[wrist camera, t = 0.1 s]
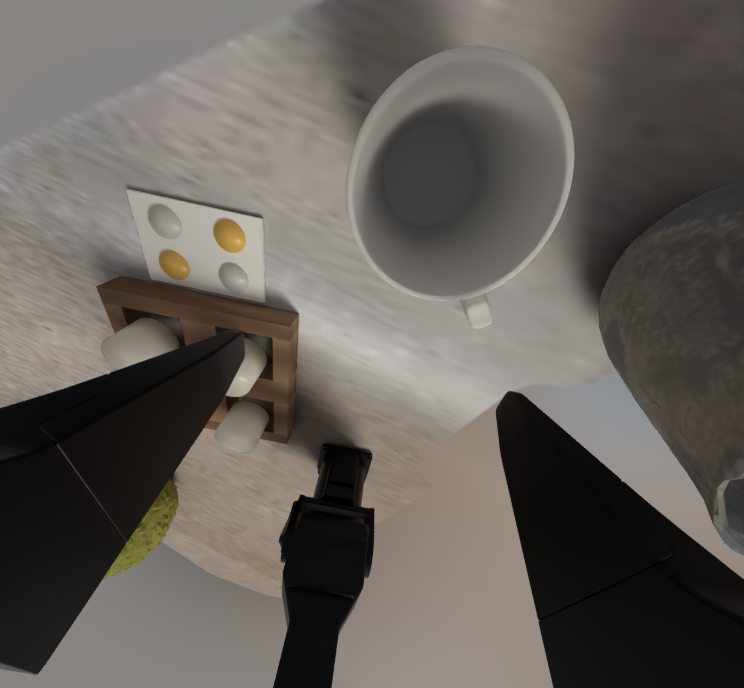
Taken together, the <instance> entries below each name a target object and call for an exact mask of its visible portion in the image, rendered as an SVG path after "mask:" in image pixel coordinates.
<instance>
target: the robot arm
mask: <svg viewBox="0 0 744 688" xmlns="http://www.w3.org/2000/svg"><path fill="white" fill-rule="evenodd" d="M244 358H245V341H244V335H243V333H241V332H237V331H233V330H229V331H226V332H223V333H220V334H217V335H215V336H212V337H209V338H206V339H203V340H201V341H198V342H195V343H192V344H189V345H187V346H184V347H181V348H178V349H175V350H172V351H170V352H167V353H164V354H161V355H158V356H156V357H153V358H150V359H147V360H144V361H142V362H139V363H136V364H133V365H130V366H127V367H125V368H122V369H119V370H116V371H113V372H111V373H109V375H108V374H105V375H102V376H99V377H97V378H94V379H91V380H88V381H85V382H82V383H79V384H76V385H73V386H70V387H67V388H65V389H61V390H58V391H55V392H52V393H49V394H45V395H42V396H39V397H36V398H32V399H29V400H26V401H22V402H19V403H16V404H12V405H9V406H6V407H2V408H0V669H4V670H10V671H16V672H22V673H28V674H34V675H37V674H38V673H39V672H40V671H41V669H42V668H43V666H44V665H45V664H46V663H47V661H48V660H49V658H50V657H51V655H52V654H53V652H54V651H55V649H56V648H57V646H58V645H59V643H60V642H61V640H62V639H63V637H64V636H65V634H66V633H67V631H68V630H69V629H70V627H71V626H72V624H73V622H74V621H75V620H76V618H77V616H78V615H79V614H80V612H81V611H82V609H83V608H84V606H85V605H86V603H87V602H88V600H89V599H90V597H91V596H92V594H93V593H94V591H95V590H96V588H97V587H98V585H99V584H100V582H101V581H102V579H103V578H104V576H105V575H106V573H107V572H108V570H109V569H110V567H111V566H112V565H113V563H114V562H115V560H116V559H117V557H118V556H119V554H120V553H121V551H122V550H123V548H124V547H125V545H126V542H128V540H129V539H130V537H131V536H132V534H133V533H134V531H135V530H136V528H137V527H138V525H139V524H140V522H141V521H142V519H143V518H144V516H145V515H146V514H147V512H148V511H149V509H150V508H151V506H152V505H153V503H154V502H155V500H156V499H157V497H158V496H159V494H160V493H161V491H162V490H163V488H164V487H165V485H166V484H167V482H168V481H169V479H170V478H171V476H172V475H173V473H174V472H175V470H176V469H177V467H178V466H179V464H180V463H181V461H182V460H183V458H184V457H185V455H186V454H187V452H188V451H189V449H190V448H191V446H192V445H193V444H194V442H195V441H196V439H197V438H198V436H199V435H200V433H201V432H202V430H203V429H204V427H205V426H206V424H207V423H208V421H209V420H210V418H211V417H212V415H213V414H214V412H215V411H216V409H217V408H218V406H219V405H220V403H221V402H222V400H223V399H224V397H225V395H226V393H227V392H228V390H229V388H230V386H231V384H232V382H233V380H234V378H235V376H236V374H237V372H238V370H239V368H240V366H241V364H242V362H243V360H244ZM496 419H497V428H498V436H499V446H500V453H501V458H502V463H503V468H504V472H505V476H506V480H507V485H508V489H509V494H510V498H511V503H512V507H513V512H514V516H515V520H516V525H517V529H518V533H519V538H520V542H521V547H522V551H523V555H524V559H525V564H526V569H527V573H528V577H529V581H530V586H531V590H532V595H533V599H534V603H535V607H536V612H537V617H538V619H539V620H540V621H539V626H540V631H541V635H542V640H543V644H544V648H545V652H546V657H547V661H548V665H549V670H550V675H551V679H552V683H553V687H554V688H744V579H743V578H741V577H740V576H739V575H738V574H736V573H735V572H734V571H732V570H731V569H730V568H729V567H727V566H726V565H725V564H724V563H722V562H721V561H720V560H719V559H717V558H716V557H715V556H714V555H712V554H711V553H710V552H708V551H707V550H706V549H705V548H703V547H702V546H701V545H700V544H699V543H697V542H696V541H695V540H693V539H692V538H691V537H690V536H688V535H687V534H686V533H684V532H683V531H682V530H681V529H680V528H678V527H677V526H676V525H675V524H674V523H672V522H671V521H670V520H669V519H667V518H666V517H665V516H664V515H662V514H661V513H660V512H659V511H657V510H656V509H655V508H654V507H653V506H652V505H650V504H649V503H648V502H647V501H646V500H644V499H643V498H642V497H641V496H640V495H639V494H637V493H636V492H635V491H634V490H633V489H631V488H630V487H629V486H628V485H627V484H626V483H625V482H622V481H621V479H620V478H619V477H618V476H617V475H615V474H614V473H613V472H612V471H611V470H610V469H608V468H607V467H606V466H605V465H604V464H602V463H601V462H600V461H599V460H598V459H597V458H596V457H595V456H593V455H592V454H591V453H590V452H589V451H587V450H586V449H585V448H584V447H583V446H582V445H581V444H580V443H578V442H577V441H576V440H575V439H574V438H572V437H571V436H570V435H569V434H568V433H567V432H566V431H564V430H563V429H562V428H561V427H560V426H559V425H558V424H556V423H555V422H554V421H553V420H552V419H551V418H549V417H548V416H547V415H546V414H545V413H543V411H541V410H540V409H539V408H538V407H537V406H536V405H534V404H533V403H532V402H531V401H530V400H529V399H528V398H526V397H525V396H524V395H523V394H521V393H517V392H513V391H509V392H507V393H506V394H505V396H504V397H503V399H502V400H501V402H500V403H499V405H498V407H497V409H496ZM371 461H372V454H371V453H369V452H363V451H358V450H353V449H348V448H343V447H338V446H333V445H328V444H323V445H322V448H321V455H320V462H319V469H318V474H319V477H318V481H317V485H316V489H315V493H314V496H313V498H311V497H306V496H305V495H300V497H299V500H298V501H294V503H293V506H292V509H291V512H290V515H289V518H288V520H287V522H286V524H285V527H284V529H283V531H282V533H281V535H280V538H279V543H280V546H281V553H282V554H281V562H283V563H285V566H284V570H283V580H282V597H283V603H284V609H285V615H286V622H287V628H288V629H287V634H286V638H285V642H284V646H283V650H282V654H281V658H280V662H279V666H278V670H277V674H276V678H275V682H274V686H273V688H331V686H332V679H333V671H334V664H335V657H336V649H337V642H338V635H339V633H340V631H341V629H342V627H343V625H344V624H345V622H346V620H347V618H348V617H349V615H350V614H351V612H352V610H353V609H354V606H355V604H356V602H357V600H358V598H359V595H360V593H361V591H362V589H363V584H364V577H365V578H368V577H369V574H370V570H371V564H372V557H373V548H374V508H370V509H369V508H364V507H361V502H362V494H363V485H364V482H365V479H366V476H367V473H368V470H369V467H370V464H371Z"/></svg>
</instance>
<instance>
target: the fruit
mask: <svg viewBox="0 0 744 688" xmlns="http://www.w3.org/2000/svg"><path fill="white" fill-rule="evenodd" d="M178 505H179V504H178V492H177V486H175V485H174V482H172V481H171V479H169V481H168V482H167V484H166V485H165V487H164V488H163V490H162V491H161V493H160V494H159V496H158V497H157V499H156V500H155V502H154V503H153V505H152V506H151V508H150V509H149V511H148V512H147V514H146V515H145V516H144V518H143V519H142V521H141V522H140V524H139V525H138V527H137V528H136V530H135V531H134V533H133V534H132V536H131V537H130V539H129V540H128V542H126V545H125V547H124V548H123V550H122V551H121V553H120V554H119V556H118V557H117V559H116V560H115V562H114V563H113V565H112V566H111V567H110V569H109V570H108V572H107V573H106V575H105V576H104V578H103V579H105V578H106V577H108V576H114V575H116V574H118V573H122V572H125V571H126V570H128V569H129V568H131V567H133V566H136V565H138V564H139V563H140V561H141V560H143V559H144V558H145V556H146V555H148V554H149V553H150V552H152V551H154V550H155V548H156V547H157V546H159V544H160V542H161V541H162V539H163V538H164V537H165V536H166V532H167V531H168V529H169V527H170V524H171V523H172V521H173V519H174V517H175V514H176V509H177V508H178Z"/></svg>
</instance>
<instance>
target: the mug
mask: <svg viewBox="0 0 744 688" xmlns="http://www.w3.org/2000/svg"><path fill="white" fill-rule="evenodd" d="M573 171H574V138H573V132H572V126H571V122H570V119H569V115H568V112H567V110H566V107H565V105H564V103H563V101H562V99H561V97H560V95H559V93H558V91H557V90H556V88H555V87H554V85H553V84H552V83H551V82H550V80H549V79H548V78H547V77H546V76H545V75H544V74H543V73H542V72H541V71H540V70H539V69H538V68H537V67H536V66H534V65H533V64H532V63H530V62H529V61H527V60H525V59H524V58H522V57H520V56H518V55H516V54H514V53H511V52H509V51H506V50H502V49H498V48H493V47H485V46H467V47H459V48H454V49H450V50H446V51H442V52H440V53H437V54H434V55H432V56H430V57H427V58H425V59H423V60H422V61H420V62H418V63H416V64H415V65H413V66H412V67H411V68H409V69H408V70H406V71H405V72H404V73H403V74H402V75H400V76H399V77H398V78H397V79H396V80H395V81H394V82H393V83H392V84H391V85H390V86H389V87H388V88H387V89H386V90H385V92H384V93H383V94H382V95H381V96H380V98H379V99H378V100H377V102H376V103H375V104H374V106H373V107H372V109H371V111H370V112H369V114H368V115H367V117H366V119H365V121H364V123H363V125H362V127H361V129H360V131H359V133H358V136H357V138H356V141H355V144H354V147H353V150H352V154H351V157H350V162H349V167H348V173H347V183H346V203H347V212H348V218H349V222H350V226H351V230H352V233H353V236H354V238H355V241H356V243H357V245H358V247H359V249H360V251H361V253H362V255H363V256H364V258H365V259H366V261H367V262H368V264H369V265H370V266H371V267H372V269H373V270H374V271H375V272H376V273H377V274H378V275H379V276H380V277H381V278H382V279H384V280H385V281H386V282H387V283H389V284H390V285H392V286H393V287H395V288H397V289H398V290H400V291H402V292H404V293H407V294H409V295H412V296H415V297H418V298H422V299H427V300H435V301H453V300H460V301H461V303H462V306H463V309H464V312H465V315H466V317H467V320H468V322H469V325H470V326H471V327H472V328H474V329H478V328H482V327H485V326H488V325H490V324H491V323H492V321H493V316H492V312H491V309H490V305H489V303H488V300H487V297H486V292H488V291H490V290H492V289H494V288H496V287H498V286H499V285H501V284H503V283H504V282H506V281H507V280H509V279H510V278H512V277H513V276H514V275H516V274H517V273H518V272H519V271H521V270H522V269H523V268H524V267H525V266H526V265H527V264H528V263H529V262H530V261H531V260H532V259H533V258H534V257H535V256H536V255H537V253H538V252H539V251H540V250H541V248H542V247H543V246H544V244H545V243H546V242H547V240H548V239H549V237H550V236H551V234H552V232H553V231H554V229H555V227H556V225H557V223H558V221H559V219H560V217H561V215H562V213H563V210H564V208H565V205H566V202H567V199H568V196H569V192H570V188H571V183H572V178H573Z"/></svg>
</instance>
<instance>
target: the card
mask: <svg viewBox="0 0 744 688" xmlns="http://www.w3.org/2000/svg"><path fill="white" fill-rule="evenodd" d="M126 191H127V194H128V198H129V201H130V205H131V209H132V212H133V216H134V220H135V223H136V227H137V231H138V234H139V238H140V242H141V245H142V249H143V253H144V256H145V260H146V263H147V267H148V271H149V274H150V278H151V279H152V280H157V281H162V282H167V283H171V284H176V285H181V286H185V287H190V288H195V289H200V290H204V291H209V292H214V293H219V294H223V295H228V296H233V297H238V298H242V299H247V300H252V301H257V302H261V303H265V302H266V286H265V253H264V220H263V218H260V217H255V216H250V215H246V214H241V213H237V212H232V211H228V210H223V209H219V208H214V207H209V206H205V205H200V204H196V203H191V202H187V201H182V200H178V199H173V198H168V197H164V196H159V195H155V194H150V193H146V192H141V191H137V190H132V189H126Z"/></svg>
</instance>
